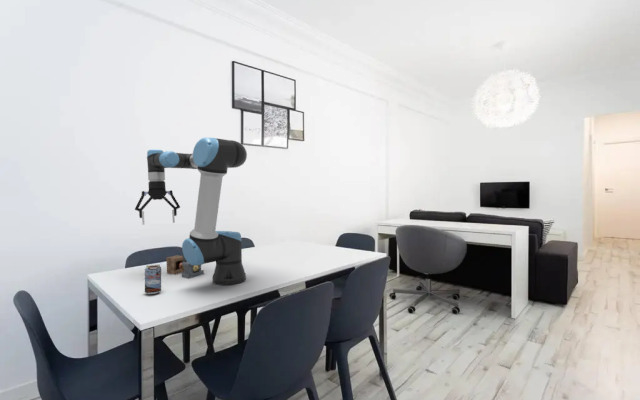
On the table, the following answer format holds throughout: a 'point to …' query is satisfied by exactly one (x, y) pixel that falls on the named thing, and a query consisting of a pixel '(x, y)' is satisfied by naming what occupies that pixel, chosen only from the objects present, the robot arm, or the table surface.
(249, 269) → the table surface
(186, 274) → the grey slotted clamp block
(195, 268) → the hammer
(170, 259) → the socket block
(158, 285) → the beverage can
